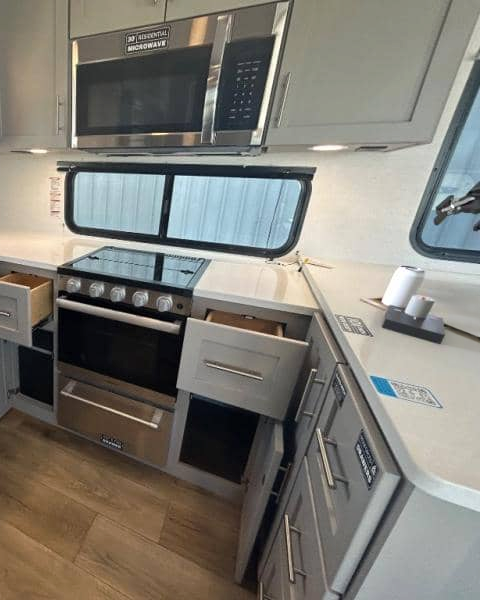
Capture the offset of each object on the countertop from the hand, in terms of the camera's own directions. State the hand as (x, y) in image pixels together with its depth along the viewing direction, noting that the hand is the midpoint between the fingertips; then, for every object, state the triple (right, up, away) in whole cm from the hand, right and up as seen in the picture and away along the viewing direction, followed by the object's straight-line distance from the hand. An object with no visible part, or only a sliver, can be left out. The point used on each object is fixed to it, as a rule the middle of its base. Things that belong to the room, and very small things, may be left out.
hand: (454, 226), depth 95 cm
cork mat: (-12, -24, +6) cm, 27 cm away
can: (-12, -23, +6) cm, 27 cm away
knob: (-17, -25, -6) cm, 31 cm away
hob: (-20, -29, -7) cm, 36 cm away
